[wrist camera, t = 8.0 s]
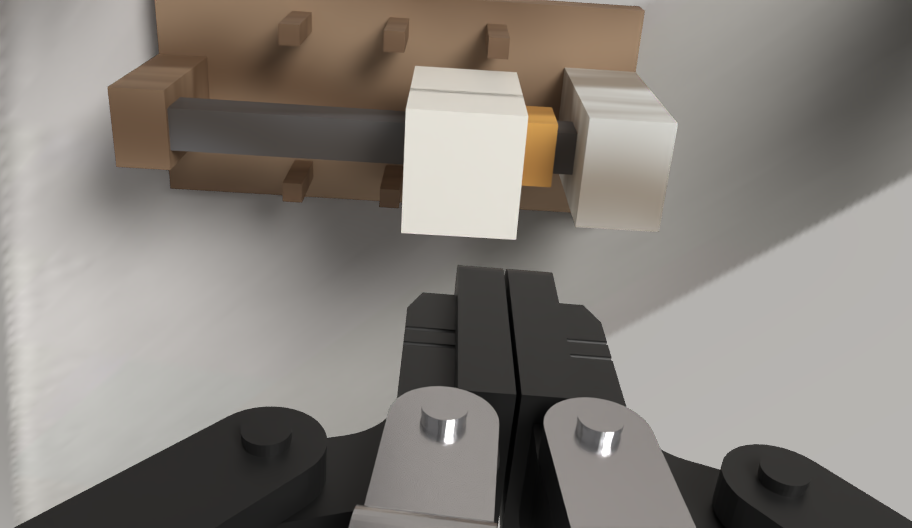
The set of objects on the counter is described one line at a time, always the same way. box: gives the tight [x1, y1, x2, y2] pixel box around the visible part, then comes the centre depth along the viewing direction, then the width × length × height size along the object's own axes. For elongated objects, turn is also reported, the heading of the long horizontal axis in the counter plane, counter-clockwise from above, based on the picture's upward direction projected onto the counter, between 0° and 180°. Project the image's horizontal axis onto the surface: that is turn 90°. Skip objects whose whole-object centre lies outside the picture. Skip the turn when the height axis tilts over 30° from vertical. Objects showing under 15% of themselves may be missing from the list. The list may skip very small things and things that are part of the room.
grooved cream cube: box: [401, 66, 528, 240], centre depth 32 cm, size 4×4×6 cm
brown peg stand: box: [108, 0, 678, 232], centre depth 34 cm, size 9×20×9 cm, turn 86°
